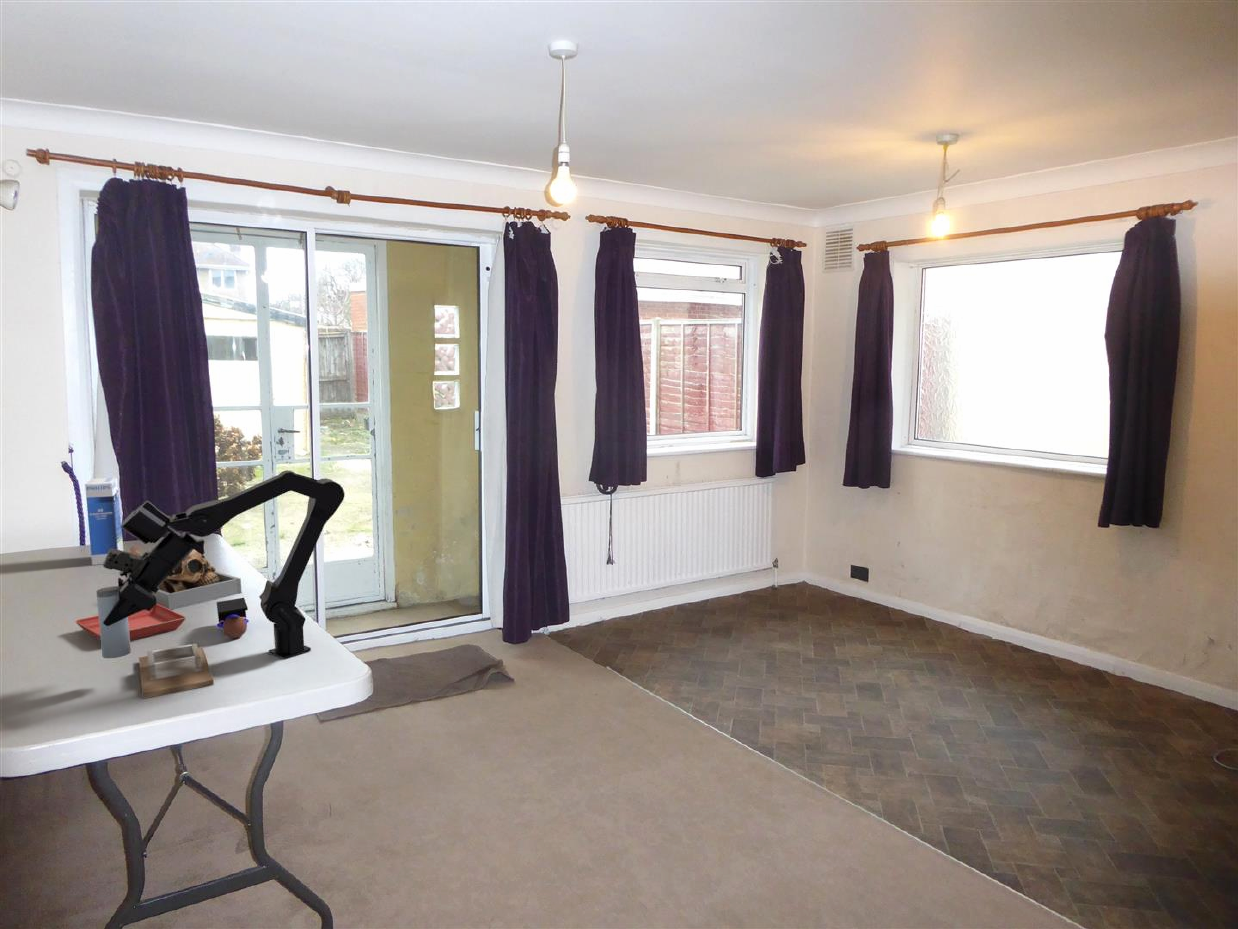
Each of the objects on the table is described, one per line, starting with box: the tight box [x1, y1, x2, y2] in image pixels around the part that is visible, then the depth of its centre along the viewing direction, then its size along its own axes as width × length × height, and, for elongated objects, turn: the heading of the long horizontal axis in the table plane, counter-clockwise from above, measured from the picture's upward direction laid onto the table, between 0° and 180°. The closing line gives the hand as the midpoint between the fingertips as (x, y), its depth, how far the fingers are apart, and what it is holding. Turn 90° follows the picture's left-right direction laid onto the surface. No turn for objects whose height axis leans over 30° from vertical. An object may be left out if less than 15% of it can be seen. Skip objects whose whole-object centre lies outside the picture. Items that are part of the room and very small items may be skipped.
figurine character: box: [216, 597, 249, 639], centre depth 190 cm, size 7×8×15 cm
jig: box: [138, 643, 214, 699], centre depth 165 cm, size 12×22×4 cm, turn 32°
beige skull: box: [159, 550, 219, 593], centre depth 221 cm, size 16×18×14 cm
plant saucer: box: [74, 604, 187, 641], centre depth 191 cm, size 18×18×3 cm
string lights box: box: [84, 477, 124, 566], centre depth 259 cm, size 13×8×26 cm, turn 25°
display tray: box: [155, 570, 243, 611], centre depth 222 cm, size 26×19×4 cm
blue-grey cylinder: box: [96, 585, 132, 659], centre depth 158 cm, size 5×5×13 cm
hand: (105, 621), depth 158 cm, fingers closed on blue-grey cylinder, 5 cm apart
